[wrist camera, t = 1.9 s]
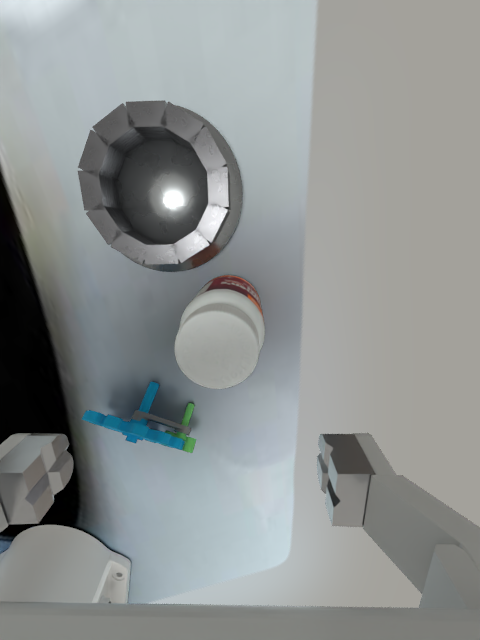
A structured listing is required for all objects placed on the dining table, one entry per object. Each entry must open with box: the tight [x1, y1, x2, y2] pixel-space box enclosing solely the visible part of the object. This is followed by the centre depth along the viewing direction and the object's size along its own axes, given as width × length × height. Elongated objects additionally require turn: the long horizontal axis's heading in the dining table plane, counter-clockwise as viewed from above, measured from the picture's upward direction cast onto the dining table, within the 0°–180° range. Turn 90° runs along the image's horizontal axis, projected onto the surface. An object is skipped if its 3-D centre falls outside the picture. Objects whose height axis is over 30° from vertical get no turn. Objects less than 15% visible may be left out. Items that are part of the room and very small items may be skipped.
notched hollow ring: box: [78, 101, 242, 272], centre depth 23 cm, size 13×13×4 cm
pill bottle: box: [174, 275, 265, 389], centre depth 22 cm, size 6×6×11 cm
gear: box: [82, 382, 196, 453], centre depth 29 cm, size 11×6×10 cm
